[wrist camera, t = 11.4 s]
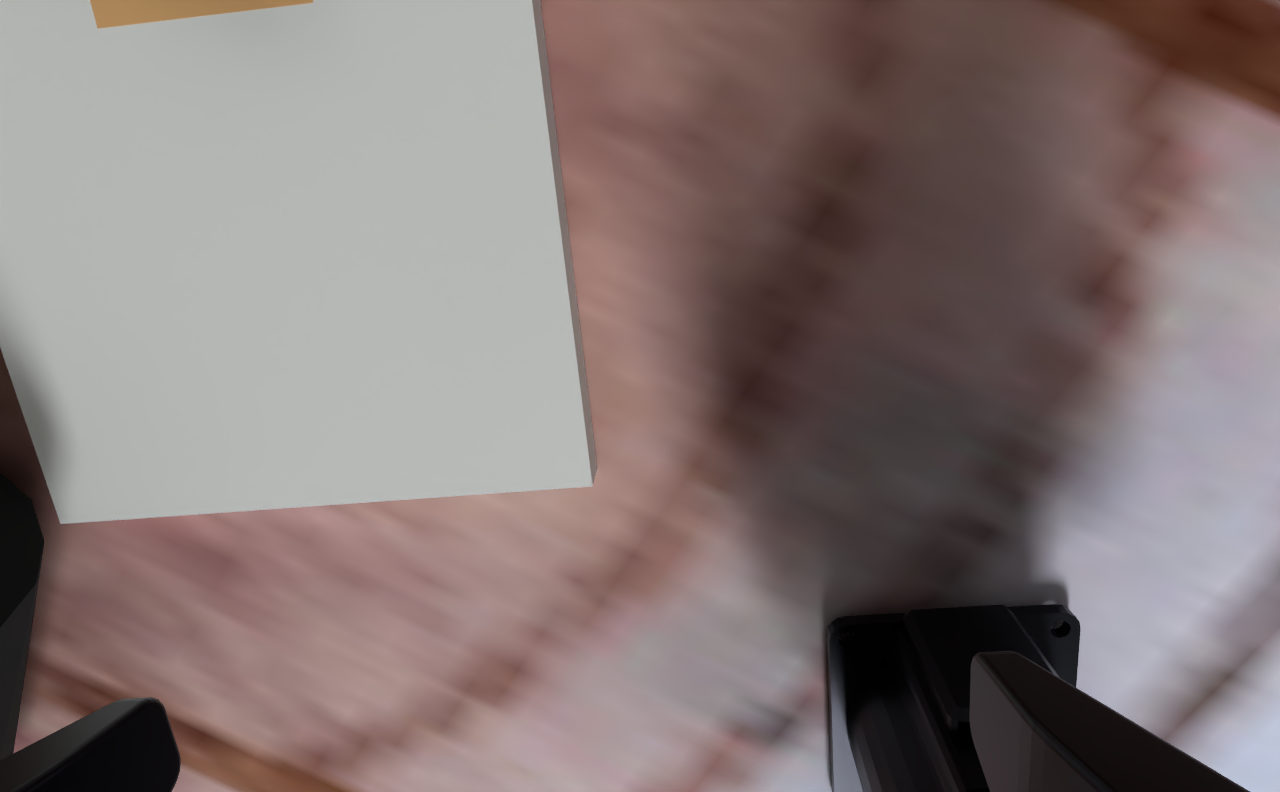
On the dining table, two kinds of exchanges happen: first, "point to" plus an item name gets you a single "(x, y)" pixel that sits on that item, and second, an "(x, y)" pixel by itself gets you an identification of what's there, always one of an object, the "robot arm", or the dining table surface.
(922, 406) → the dining table surface
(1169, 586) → the dining table surface
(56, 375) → the board
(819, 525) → the dining table surface
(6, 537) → the striped bottle lying down
